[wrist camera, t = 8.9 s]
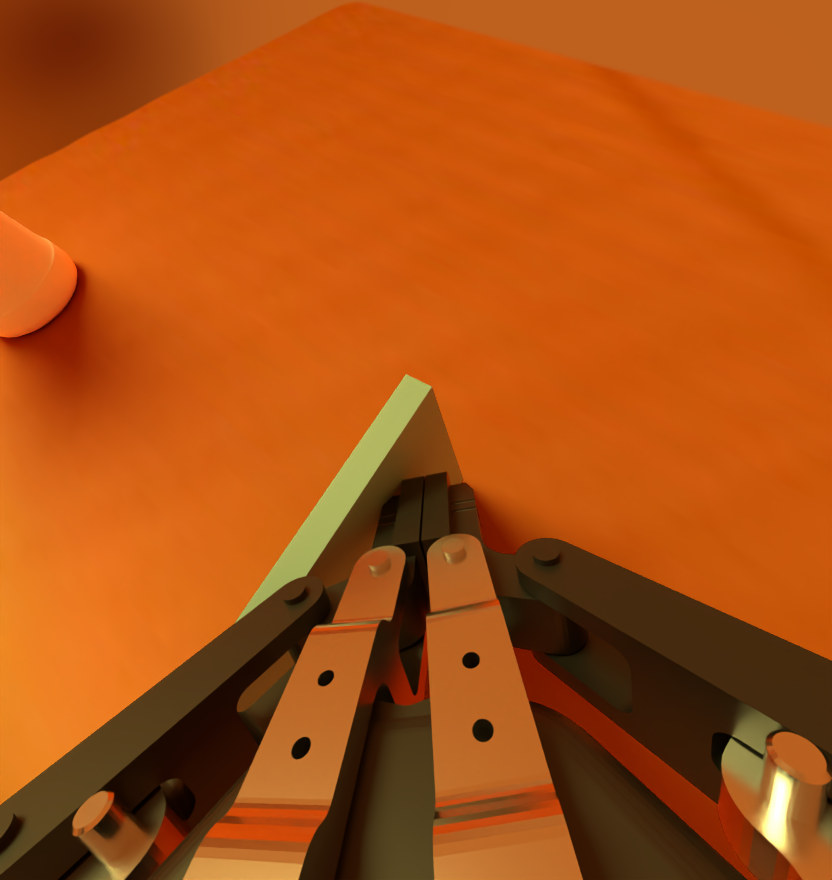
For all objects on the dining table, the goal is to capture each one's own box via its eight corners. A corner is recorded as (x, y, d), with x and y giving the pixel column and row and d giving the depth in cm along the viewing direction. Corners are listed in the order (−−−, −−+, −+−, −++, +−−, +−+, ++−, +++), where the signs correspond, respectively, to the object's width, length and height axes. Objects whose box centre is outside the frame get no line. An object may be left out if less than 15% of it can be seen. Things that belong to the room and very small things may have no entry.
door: (249, 840, 16) (-99, 1189, 7) (231, 817, 17) (-119, 1115, 7) (466, 481, 20) (435, 385, 11) (446, 471, 20) (400, 368, 11)
